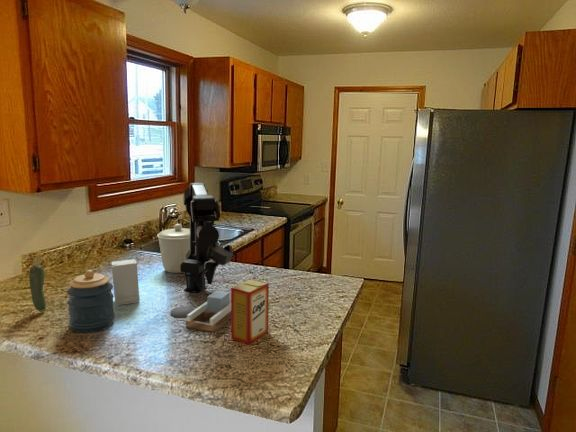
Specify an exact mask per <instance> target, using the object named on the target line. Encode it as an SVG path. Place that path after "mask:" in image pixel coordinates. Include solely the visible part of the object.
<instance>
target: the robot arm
mask: <svg viewBox="0 0 576 432" xmlns="http://www.w3.org/2000/svg"><path fill="white" fill-rule="evenodd" d="M182 197H183V199H182V201H183V206H185V212H186V213H187V214H188V215H189V229H190V250H189V251H188V253H187V254H186V261H184V262H182V263H181V264H180V271H181V272H184V273H183V276H184V277H185V280H186V281H185V282H186V283H185V284H186V286H185V287H186V288H184V289H183V291H185V292H189V293H190V292H191V293H201V292H202V291H203V290H205V289H207V286H206V282H207V285H212V284H213V281H214V276H215V273H216V270H217V268H218V266H219V265H220V266H226V265H227V264H229V263H230V262H231V258H232V257H233V256H234V249H233V246H232V245H231V244H227V245H225V246H219V243H218V240H219V237H220V232H219V230H218V229H217V227H216V226H215V222H219V221H220V219H221V209H220V204H219V203H218V201H217V200H216V198H215V197H214V195H210V194H209V190H208V189H207V188H206V184H205V183H203V182H191V183H189V186H188V187H187V188H186V189H185V190H183V195H182Z"/></svg>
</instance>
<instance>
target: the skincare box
mask: <svg viewBox="0 0 576 432" xmlns="http://www.w3.org/2000/svg"><path fill="white" fill-rule="evenodd" d="M111 274H112V285H113V292H114V293H113V296H114V302H115V303H114V304H115V306H123V305H127V304H128V305H129V304H136V303H139V302H140V301H141V300H140V289H139V277H138V276H139V275H138V262H137V261H136V259H135V258H132V259H124V260H117V261H115V260H114V261H111Z"/></svg>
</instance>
